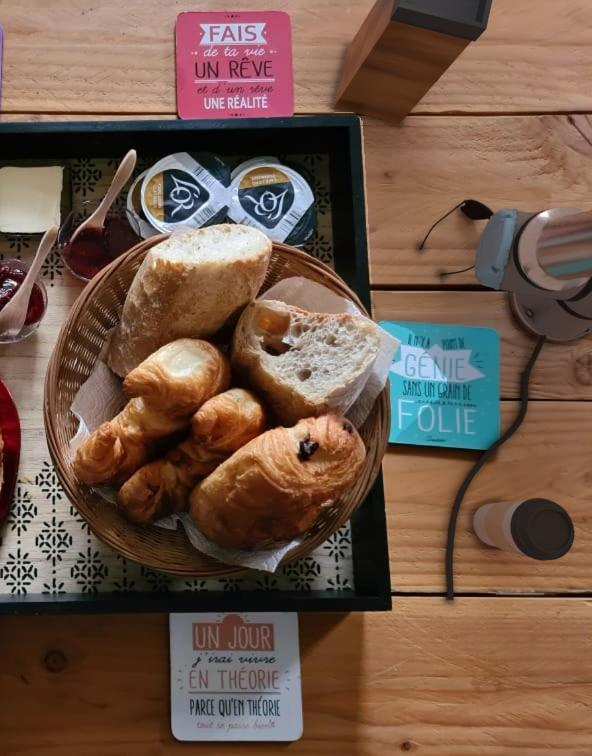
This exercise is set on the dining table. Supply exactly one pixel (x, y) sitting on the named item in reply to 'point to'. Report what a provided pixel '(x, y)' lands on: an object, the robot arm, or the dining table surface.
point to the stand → (393, 65)
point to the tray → (445, 16)
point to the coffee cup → (526, 528)
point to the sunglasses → (473, 212)
